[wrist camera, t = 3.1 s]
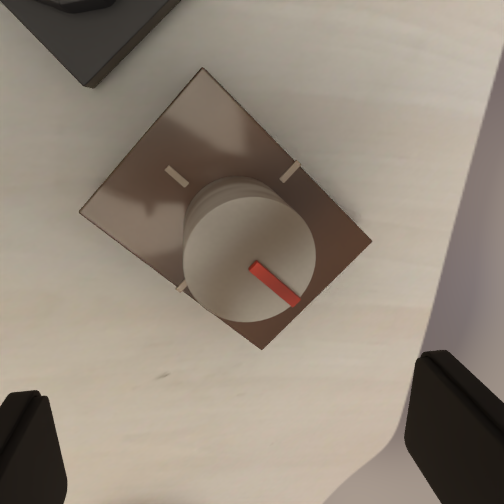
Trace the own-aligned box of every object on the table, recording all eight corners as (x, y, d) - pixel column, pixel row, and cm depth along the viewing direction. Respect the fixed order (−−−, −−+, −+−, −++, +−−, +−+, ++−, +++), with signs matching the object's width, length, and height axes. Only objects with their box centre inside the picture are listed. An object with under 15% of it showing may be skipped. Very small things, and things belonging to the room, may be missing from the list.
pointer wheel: (161, 233, 22) (152, 273, 17) (233, 152, 21) (250, 167, 16) (238, 294, 24) (253, 348, 19) (307, 223, 23) (344, 258, 18)
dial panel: (89, 201, 24) (75, 214, 21) (201, 70, 22) (204, 64, 19) (253, 328, 29) (261, 353, 26) (354, 226, 27) (375, 241, 24)
